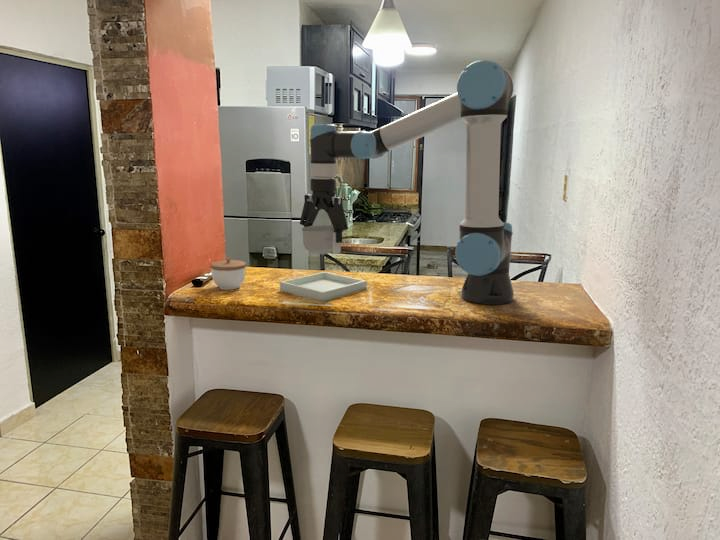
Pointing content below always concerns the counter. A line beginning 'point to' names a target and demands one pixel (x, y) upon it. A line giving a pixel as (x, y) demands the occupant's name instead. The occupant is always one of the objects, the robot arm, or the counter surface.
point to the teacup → (318, 239)
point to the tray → (323, 286)
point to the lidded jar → (228, 273)
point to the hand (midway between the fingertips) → (323, 250)
